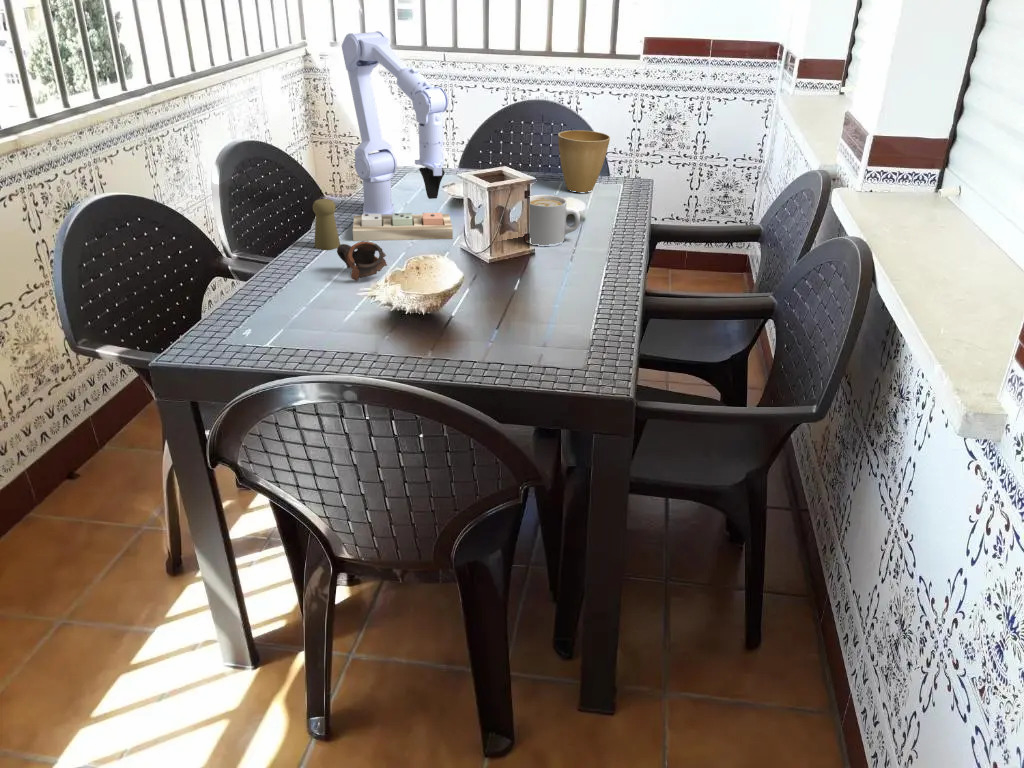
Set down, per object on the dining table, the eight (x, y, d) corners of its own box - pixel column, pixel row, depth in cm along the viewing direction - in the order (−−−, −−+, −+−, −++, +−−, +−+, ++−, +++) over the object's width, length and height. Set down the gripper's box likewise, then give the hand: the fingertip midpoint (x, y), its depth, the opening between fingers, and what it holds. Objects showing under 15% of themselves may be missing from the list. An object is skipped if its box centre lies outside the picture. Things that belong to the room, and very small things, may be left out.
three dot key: (392, 225, 206) (392, 212, 205) (412, 224, 207) (411, 212, 205) (393, 231, 202) (392, 218, 200) (412, 230, 203) (412, 218, 201)
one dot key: (422, 224, 207) (422, 212, 206) (441, 224, 208) (441, 211, 206) (423, 230, 203) (423, 218, 201) (443, 230, 204) (442, 217, 202)
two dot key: (362, 225, 205) (361, 213, 204) (382, 225, 206) (381, 212, 204) (362, 231, 201) (361, 219, 199) (382, 231, 202) (381, 218, 200)
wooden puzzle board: (354, 225, 208) (354, 215, 207) (449, 223, 212) (448, 214, 210) (353, 240, 198) (352, 230, 197) (452, 238, 201) (452, 228, 200)
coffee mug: (520, 245, 199) (522, 204, 194) (527, 232, 207) (529, 193, 202) (575, 250, 197) (578, 209, 192) (580, 236, 205) (583, 197, 200)
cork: (343, 242, 197) (340, 197, 192) (336, 250, 192) (332, 204, 186) (318, 240, 198) (314, 195, 192) (311, 249, 192) (306, 203, 187)
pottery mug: (394, 269, 184) (394, 245, 177) (375, 300, 179) (373, 276, 172) (346, 250, 185) (344, 225, 178) (326, 279, 180) (322, 255, 173)
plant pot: (590, 200, 233) (594, 143, 226) (545, 191, 240) (548, 135, 233) (614, 189, 244) (619, 134, 237) (570, 180, 251) (574, 127, 244)
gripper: (409, 135, 200) (410, 190, 207) (420, 149, 188) (422, 207, 195) (437, 134, 202) (438, 189, 209) (450, 148, 190) (451, 205, 196)
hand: (432, 197), depth 202 cm, fingers closed
